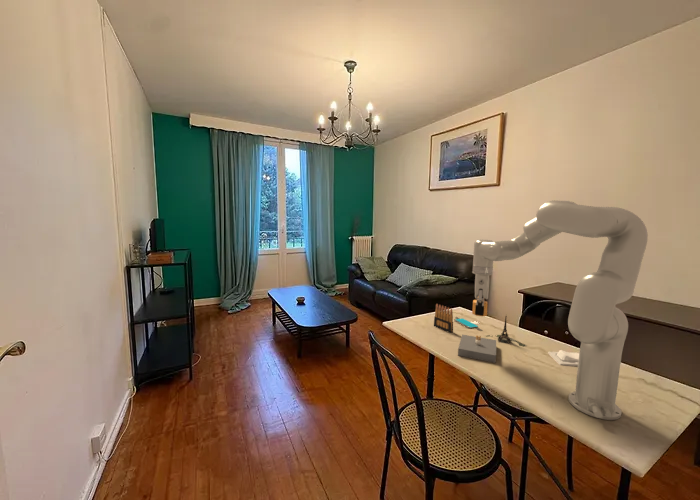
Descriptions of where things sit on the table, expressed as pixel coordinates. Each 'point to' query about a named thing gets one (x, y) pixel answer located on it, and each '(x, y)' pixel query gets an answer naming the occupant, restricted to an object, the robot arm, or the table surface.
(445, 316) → the ammunition clip
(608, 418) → the robot arm
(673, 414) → the table surface
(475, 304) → the orange wooden cylinder
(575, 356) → the light switch
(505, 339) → the eiffel tower figurine
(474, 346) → the box
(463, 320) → the cyan flat board
